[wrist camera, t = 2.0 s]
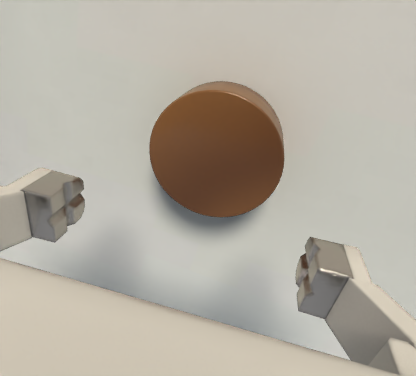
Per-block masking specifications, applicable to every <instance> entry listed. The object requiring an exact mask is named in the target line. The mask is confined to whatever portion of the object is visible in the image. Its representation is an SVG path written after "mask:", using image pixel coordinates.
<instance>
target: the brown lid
mask: <svg viewBox="0 0 416 376" xmlns="http://www.w3.org/2000/svg"><path fill="white" fill-rule="evenodd" d="M150 160H151V164H152V168H153V171H154V173H155V176H156V178H157V180H158V181H159V183H160V185H161V186H162V187H163V189H164V190H165V191H166V192H167V193H168V195H169V196H170V197H171V198H173V199H174V200H175V201H176V202H178V203H179V204H180V205H182V206H183V207H185V208H187V209H189V210H191V211H193V212H196V213H199V214H202V215H206V216H211V217H231V216H237V215H240V214H244V213H246V212H249V211H251V210H253V209H255V208H256V207H258V206H259V205H261V204H262V203H263V202H264V201H265V200H266V199H267V198H269V197H270V195H271V194H272V193H273V191H274V190H275V188H276V187H277V185H278V183H279V181H280V178H281V176H282V172H283V167H284V145H283V133H282V128H281V125H280V122H279V119H278V117H277V115H276V113H275V111H274V110H273V108H272V107H271V106H270V104H269V103H268V102H267V101H266V100H265V99H264V98H263V97H262V96H260V95H259V94H258V93H256V92H255V91H253V90H252V89H250V88H248V87H245V86H243V85H240V84H236V83H232V82H225V81H220V82H210V83H205V84H202V85H199V86H197V87H195V88H192V89H191V90H189V91H188V92H186V93H185V94H183V95H182V96H181V97H179V98H178V99H176V100H175V101H174V102H172V103H171V104H170V105H169V106H168V107H167V108H166V109H165V110H164V111H163V112H162V113H161V115H160V116H159V118H158V119H157V121H156V123H155V125H154V128H153V130H152V134H151V138H150Z"/></svg>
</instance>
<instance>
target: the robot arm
mask: <svg viewBox="0 0 416 376" xmlns="http://www.w3.org/2000/svg"><path fill="white" fill-rule="evenodd" d="M83 190H84V185H83V180H82V179H81V178H79V177H75V176H71V175H68V174H64V173H61V172H57V171H53V170H49V169H45V168H37V169H36V170H34V171H32V172H30V173H29V174H27V175H25V176H23V177H21V178H20V179H18V180H16V181H14V182H12V183H11V184H9V185H7V186H0V251H2V250H5V249H7V248H9V247H12V246H14V245H16V244H19V243H21V242H23V241H26V240H28V239H30V238H32V237H35V238H39V239H43V240H47V241H51V242H56V241H57V240H58V239H59V238H60V237H61V236H63V235H64V234H65V233H66V232H67V226H69V225H72V224H75V223H76V222H77V221H78V220H79V219H80V218H81V216H82V214H83V212H84V207H85V199H84V198H83V197H82V195H81V194H80V193H81V192H82V191H83ZM305 251H306V253H305V254H304V255H302V256H301V257H300V259H299V262H298V265H297V269H296V284H297V285H298V287H299V290H298V292H297V303H298V311H300V312H304V313H307V314H310V315H313V316H316V317H320V318H323V319H325V321H326V323H327V324H328V326H329V327H330V329H331V330H332V332H333V334H334V335H335V337H336V338H337V340H338V341H339V343H340V344H341V346H342V347H343V349H344V350H345V352H346V354H347V355H348V357H349V358H350V360H351V361H350V360H347V359H344V358H340V357H337V356H333V355H330V354H327V353H323V352H320V351H316V350H313V349H309V348H306V347H302V346H299V345H295V344H292V343H288V342H285V341H281V340H278V339H275V338H271V337H268V336H265V335H261V334H258V333H254V332H251V331H248V330H244V329H241V328H237V327H234V326H231V325H227V324H224V323H220V322H217V321H214V320H210V319H207V318H203V317H200V316H197V315H193V314H190V313H186V312H183V311H180V310H176V309H173V308H170V307H166V306H163V305H159V304H156V303H152V302H149V301H145V300H142V299H139V298H135V297H132V296H128V295H125V294H121V293H118V292H115V291H111V290H108V289H104V288H101V287H97V286H94V285H91V284H87V283H84V282H80V281H77V280H73V279H70V278H67V277H63V276H60V275H56V274H53V273H50V272H46V271H43V270H39V269H36V268H33V267H29V266H26V265H22V264H19V263H15V262H12V261H9V260H5V259H2V258H0V376H416V320H415V319H414V318H413V317H412V316H411V315H410V314H409V313H408V312H407V311H405V310H404V309H403V308H402V307H401V306H400V305H399V304H398V303H397V302H396V301H394V300H393V299H392V298H391V297H390V296H389V295H388V294H387V293H386V292H385V291H384V290H382V289H381V288H380V287H379V286H378V285H375V284H373V283H372V281H371V278H370V275H369V273H368V270H367V268H366V265H365V263H364V260H363V258H362V255H361V253H360V250H359V249H358V248H357V247H353V246H348V245H344V244H338V243H334V242H330V241H326V240H321V239H317V238H313V237H310V238H309V239H308V240H307V243H306V245H305Z"/></svg>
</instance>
